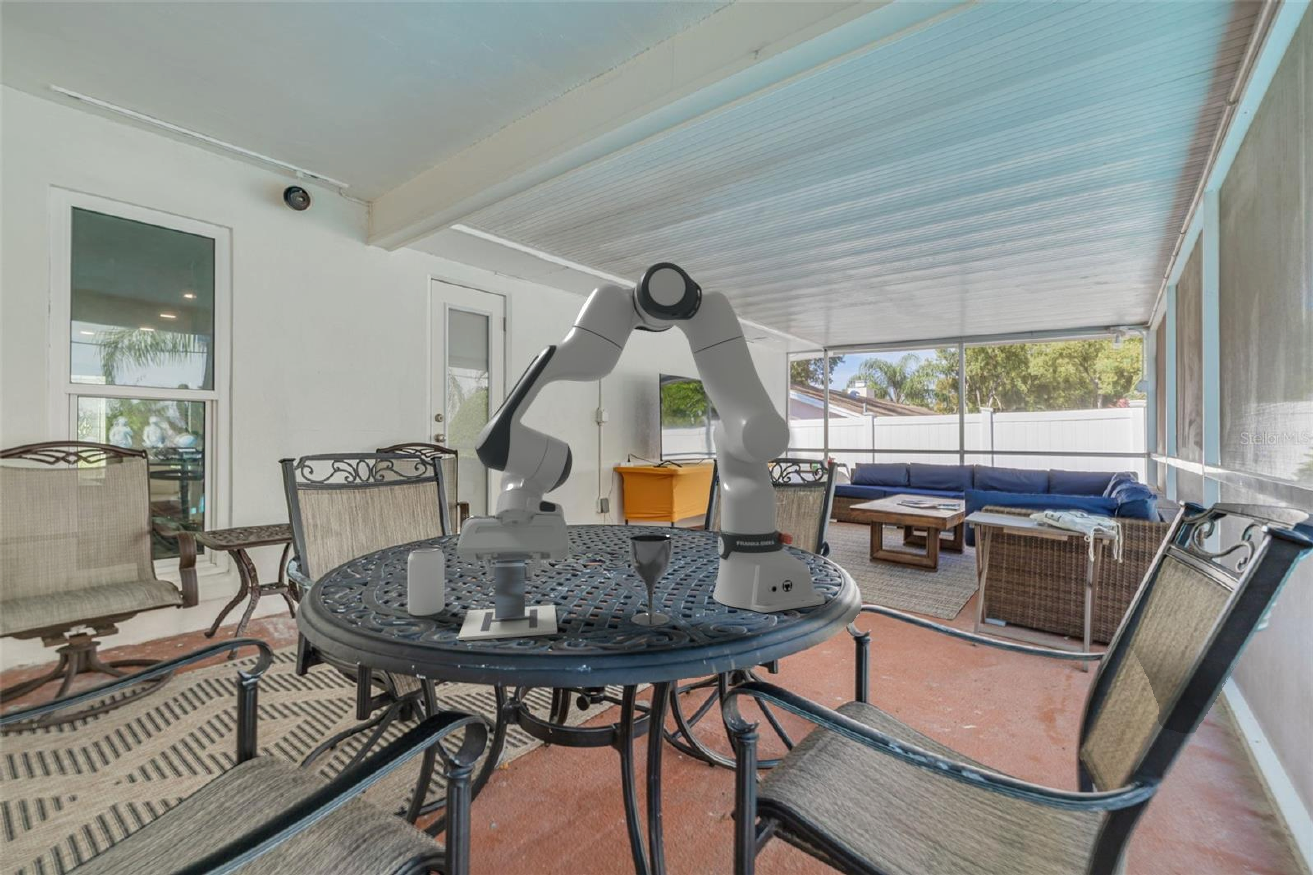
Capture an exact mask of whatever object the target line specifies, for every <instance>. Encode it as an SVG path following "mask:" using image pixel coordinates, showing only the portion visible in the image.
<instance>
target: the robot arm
mask: <svg viewBox="0 0 1313 875" xmlns="http://www.w3.org/2000/svg"><path fill="white" fill-rule="evenodd" d="M674 326H675V327H677V328H678V329H680V331H682V332H683V334H684V335H685V338H686V340H688V344H689V346H690V347H689V348H690V351H691V354H692V357H693V361H694V363H695V366H696V369H697V372H698V375H699V379H700V381H701V385H702V387H703V389H704V390H703V391H704V392H705V394H706V395H707V396H708V398H709V399H710V401H711V403H712V405H713V407H714V409H715V411H716V413H717V415H718V417H719V420H718V421H717V423H716V424H715V426H714V428H713V433H712V437H713V443H714V445H715V456H716V465H717V472H718V479H719V485H720V529H719V530H718V539H717V542H718V543H717V547H718V548H717V550H718V557H719V563H718V571H717V572H718V573H717V578H716V583H715V587H714V591H713V593H712V598H713V600H714V601H716V602H718V603H719V604H721V605H722V604H723V605H725V606H728V607H733V608H739V609H745V610H746V609H747V610H751V611H755V612H758V613H773V612H779V611H786V610H791V609H792V610H793V609H799V608H806V607H812V606H818V605H824V604H825V603H826V599H825V595H824V594H823V592H821V591H819V590H818V589H816V588H815V587H814V582H813V576H812V574H811V571H810V569H809V568H808V567H807V566H806V565H805V564H803V562H802V561H800V560H799V559H798V558H796V556H794V555H793V554H791V553H790V552H789V551H788V550H787V549H786V548H784V545H789V546H790V545H792V543H793V542H794V539H793V538H794V537H793V536H792V535H791V534H789V533H782V532H780V531H779V530H777V529H776V490H775V487H774V486H773V481H772V478H771V475H770V470H769V465H768V464H769V462H772V461H774V460H776V459H777V458H779V457H781V456H782V455H783V454H784V453H785V451H787V449H788V447H789V443H790V438H791V436H790V435H791V434H790V428H789V425H788V423H787V422H786V420H785V419H784V417H782V416H781V414H779V411H778V410H777V408H776V407H775V404H774V402H773V401H772V399H771V397H770V395H769V394H768V392H767V390H766V388H765V386H764V385H763V383H762V381H761V379H760V377H759V375H758V374H759V373H758V372H757V370H756V367H755V365H754V360H753V358H752V355H751V352H750V350H749V346H748V344H747V341H746V337H745V335H744V334H745V333H744V332H743V329H742V326H741V324H740V321H739V318H738V317H737V315H736V313H735V310H734V308H733V307H732V305H731V303H730V301H729V300H728V298H727V297H726V295H725V294H724V293H722V292H720V291H716V290H704V291H703V290H702V288H701V286H700V285H699V284H698V283H697V282H696V281H694V279H693V278H691V276H690V275H689V274H688V273H687V272H686V270H684V269H683V268H682V267H681V266H679V265H677V264H675V263H673V262H668V261H667V262H666V261H663V262H658V263H655V264H653V265H651V266H648V267H647V269H645V270H644V271H643V272H642V273H641V275H640V277H639V278H638V281H637V283H636V285H635V286H634V287H631V288H624V287H621V286H619V285H616V284H613V283H612V284H611V283H603V284H600V285H597V286H596V287H595V288H594V289H593V290H592V291H591V292H590V294H589V296H588V297H587V298H586V300H585V302H584V303H583V304H582V307H581V308H580V310H579V311H578V313H577V315H576V317H575V319H574V320H573V323H572V325H571V327H570V329H569V331H568V333H567V334H566V336H564V337H563V339H561V341H559V342H557V344H551V345H546V346H545V347H544V348H542V349H541V351H539V352H538V354H536V356H535V357H534V359H532V362H530V363H529V365H528V366H527V368H526V369H525V371H524V372H523V373H522V375H521V376H520V378H519V379H518V380H517V382H516V384H515V385H514V387H513V388H512V390H511V391H510V392H509V394H508V395H507V397H506V398H505V400H504V401H503V402H502V404H501V405H500V406H499V408H498V409H497V411H496V412H495V413H494V415H493V416H492V417H491V418H490V420H489V421H488V422H487V423H486V425H484V426H483V428H482V430H481V431H480V432H479V434H478V436H477V438H476V442H475V447H474V450H475V453H476V456H477V457H478V459H479V461H480V462H481V464H482V465H483V466H484V468H487V469H491V470H496V471H499V472H502V474H501V478H500V484H499V485H500V493H499V495H498V497H497V502H496V508H495V515H493V514H491V515H471V517H469V518H466V519H464V520H463V521H462V523H461V526H460V527H461V528H460V536H459V539H458V542H457V545H456V552H457V556H458V557H459V559H460V560H461V561H462V562H482V563H483V565H484V567H485V569H486V575H485V576H486V581H487V582H489V581H490V582H493V581H494V582H495V567H492V565H493V562H497V561H502V560H523V559H525V561H532V563H531V564H530V565H529V566H525V581H533V580H534V578H535V572H536V571H538V569H539V568H540V566H541V565H542V561H550V560H551V561H552V560H553V561H554V560H555V561H556V560H557V561H558V560H559V561H560V560H563V561H564V560H566V559H567V557H569V554H570V543H569V542H570V541H569V534H568V533H569V532H568V527H567V526H568V525H567V522H566V521H565V514H564V510H563V509H564V508H563V507H562V505H561V504H559V503H555V502H552V501H549V500H544V499H543V497H544V495H545V494H549V493H551V492H553V491H554V490H556V489H558V488H559V487H561V486H562V485H564V484H565V483H566V481H567V480H568V478H569V477H570V474H571V471H572V467H573V454H572V450H571V448H570V446H569V444H568V442H565V441H563V440H562V439H560V438H557V437H555V436H552V435H549V434H548V433H544V432H541V431H539V430H536V429H534V428H532V427H529V426H527V425H525V424H522V422H521V420H522V418H523V416H525V414H526V412H527V411H528V409H529V408H530V407H531V405H532V404H533V402H534V400H535V399H536V398H537V396H538V394H539V393H540V392H541V391H542V390H543V388H544V387H545V386H547V385H548V384H549V383H552V382H558V381H570V382H571V381H572V382H585V383H586V382H596V381H600V380H601V379H604V378H605V377H607V376H608V375H610V374H611V373H612V372H613V370H614V369H615V367H616V365H617V364H618V361H619V360H620V358H621V355H622V353H623V351H624V349H625V346H626V344H627V342H628V340H629V338H630V336H631V334H632V333H633V332H634V330H637V331H644V332H650V333H662V332H666V331H669V330H670V329H672V328H673V327H674Z"/></svg>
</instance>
